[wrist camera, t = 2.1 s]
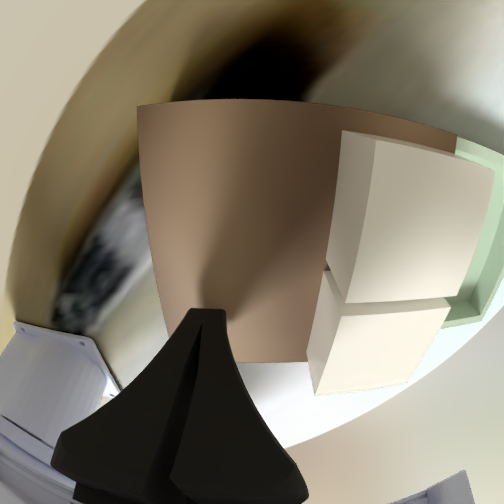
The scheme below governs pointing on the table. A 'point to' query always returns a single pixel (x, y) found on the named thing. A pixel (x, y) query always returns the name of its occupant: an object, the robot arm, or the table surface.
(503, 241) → the tray
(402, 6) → the table surface
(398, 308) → the tile
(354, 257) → the tile
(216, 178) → the board
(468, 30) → the table surface
